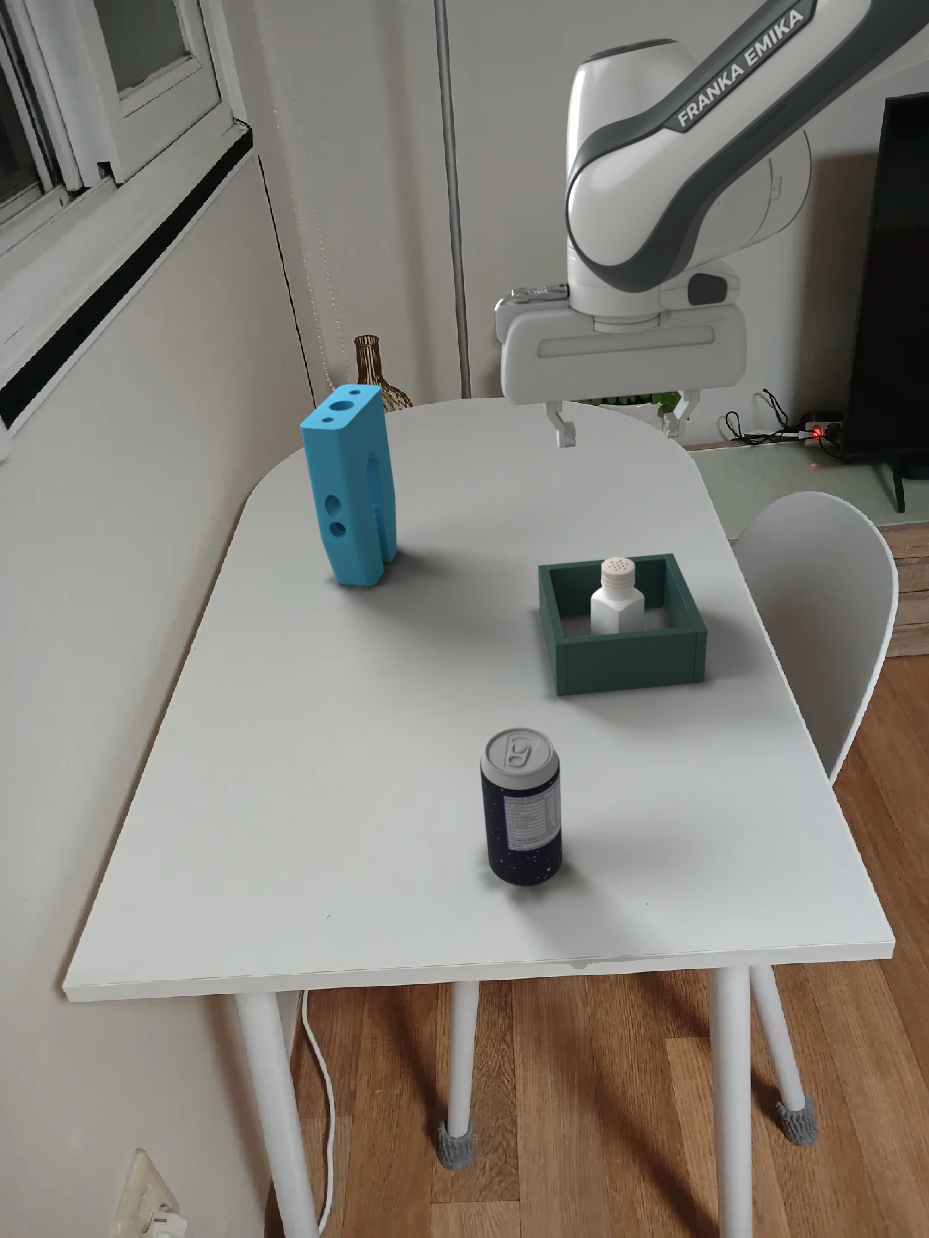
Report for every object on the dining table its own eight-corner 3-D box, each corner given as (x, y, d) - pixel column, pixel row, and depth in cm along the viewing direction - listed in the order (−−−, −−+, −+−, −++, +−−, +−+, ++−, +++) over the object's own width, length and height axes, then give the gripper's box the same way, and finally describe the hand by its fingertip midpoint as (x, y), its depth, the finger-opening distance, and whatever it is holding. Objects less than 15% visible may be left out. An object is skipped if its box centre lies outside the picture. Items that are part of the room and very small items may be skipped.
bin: (670, 601, 102) (672, 552, 98) (703, 682, 90) (708, 631, 87) (539, 613, 102) (537, 565, 98) (556, 695, 90) (555, 645, 87)
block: (366, 538, 118) (341, 384, 107) (404, 542, 117) (383, 385, 105) (327, 591, 109) (296, 427, 97) (368, 595, 107) (341, 430, 96)
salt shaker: (588, 645, 96) (588, 565, 91) (615, 629, 98) (617, 550, 93) (617, 662, 94) (619, 581, 88) (645, 645, 96) (648, 564, 90)
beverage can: (568, 842, 75) (566, 728, 69) (554, 900, 71) (550, 783, 64) (499, 831, 77) (490, 719, 70) (481, 886, 72) (469, 772, 66)
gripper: (495, 302, 73) (504, 466, 81) (762, 279, 73) (744, 445, 81) (489, 279, 78) (498, 436, 86) (738, 257, 78) (724, 416, 86)
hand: (619, 440), depth 83 cm, fingers open, 8 cm apart
